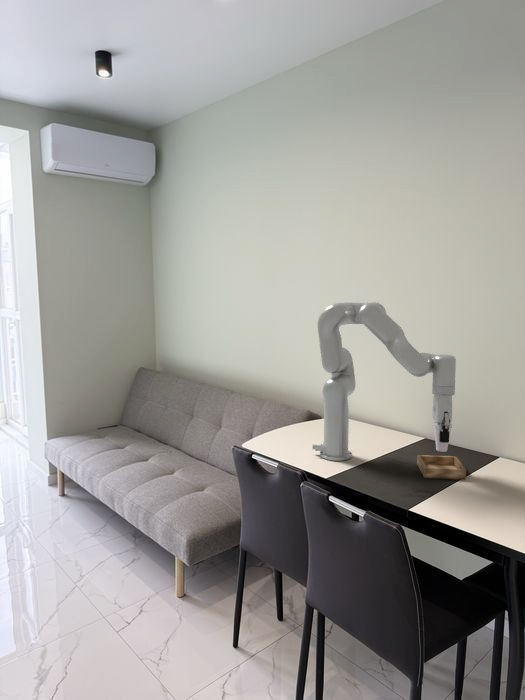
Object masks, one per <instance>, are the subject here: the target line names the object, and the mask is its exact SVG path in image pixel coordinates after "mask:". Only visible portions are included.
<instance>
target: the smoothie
mask: <svg viewBox="0 0 525 700" xmlns="http://www.w3.org/2000/svg"><path fill="white" fill-rule="evenodd" d="M444 422H445V421H444ZM443 426H444V425H443ZM432 427H433V430H434V438H435V439H434V441H435V442H434V443H435V450H436V451H437V452H441V453H443V452H447V451H448V448H449V443H442V442H440V441H439V437H440V431H441V427H440V422H439V423H437V422H436V421H434V422H433V423H432ZM452 428H453V424H452V422H451V423H450V425H449V430H450V431H449V438H450V436H451V432H452V431H451V430H452Z"/></svg>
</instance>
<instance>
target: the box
mask: <svg viewBox="0 0 525 700" xmlns="http://www.w3.org/2000/svg"><path fill="white" fill-rule="evenodd" d="M416 465H417V467H418V469H419V471H420V473H421V475H422V477H423V478H424V479H441V480H442V479H444V480H445V479H446V480H464V479H466V480H467V468H465V466H464V465H463V463H462V462H461V461H460V460H459V458H458V457H457V456H456V455H455V456H453V455H452V456H451V455H427V454H426V455H424V454H417V455H416Z"/></svg>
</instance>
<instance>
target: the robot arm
mask: <svg viewBox="0 0 525 700" xmlns="http://www.w3.org/2000/svg"><path fill="white" fill-rule="evenodd" d="M343 325H344V326H345V325H364V326H365V327H366V328H367V329H368V330H369V331H370V332H371V333H372V334H373V335H374V336H375V337H376V338H377V339H378V340H379V341H380V342H381V343H382V344H383V345H384V346H385V348H386V349H387V351H389V353H390V354H391V356H392V357H393V359H395V360H396V361H397V363H399V365H400V366H401V367H403V368H404V369H405V371H407V372H408V373H409V374H411V375H412V376H413V377H417V378H420V377H421V378H422V377H424V376H426V375H428V374H430V373H431V374H432V383H431V384H432V389H431V393H432V395H433V400H432V410H431V412H432V414H431V416H432V419H433V420H434V422H437V423H439V422H440V427H441V431H440V437H439V441H440V442H442V443H448V444H449V443H450V437H449V431H450V430H449V425H450V423H451V424H452V420H453V396H455V395H456V374H457V373H456V369H457V366H456V365H457V364H456V363H457V361H456V357H455V356H454V355H451V354H434V353H428V352H427V353H426V352H419V351H418V350H417V349H416V348H415V347H414V346H413V345H412V344H411V343H410V342H409V341H408V339H407V337H406V335H405V332H404V330H403V328H402V327H401V326H400V325H399V324H398V323H397V322H396V321H394V319H393V318H391V317H390V316H389V315H388V314H387V312H386V308H385V307H384V305H383V304H382V303H379V302H376V301H375V302H374V301H373V302H337V303H334V304H331V305H329V306H327V307H326V308H325V309H324V310H322V312H321V313H320V314H319V317H318V320H317V333H318V340H319V341H318V342H319V349H320V358H321V359H320V360H321V365H322V369H323V370H324V372H326V373H328V374H331V377H330V378H328V379H327V380H326V381H325V383H324V384H323V387H322V397H323V399H322V400H323V442H322V443H321V444H312V450H315V452H319V457H321V458H322V459H325V460H327V461H332V462H333V461H335V462H337V461H340V462H341V461H348V460H350V459H352V457H353V453H352V451H350V450H349V433H350V432H349V427H350V426H349V424H350V421H349V419H350V413H349V411H350V409H349V402H348V399H349V398H348V397H350V396H351V395H352V394H353V393H354V391H355V390H356V375H355V368H354V367H355V366H354V361H353V357H352V354H351V352H350V351H349V349H347V348H346V347H343V344H342V343H343V342H342V336H341V335H342V334H341V333H340V327H341V326H343ZM444 421H445V422H444ZM443 425H444V426H443ZM450 432H451V431H450Z"/></svg>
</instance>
